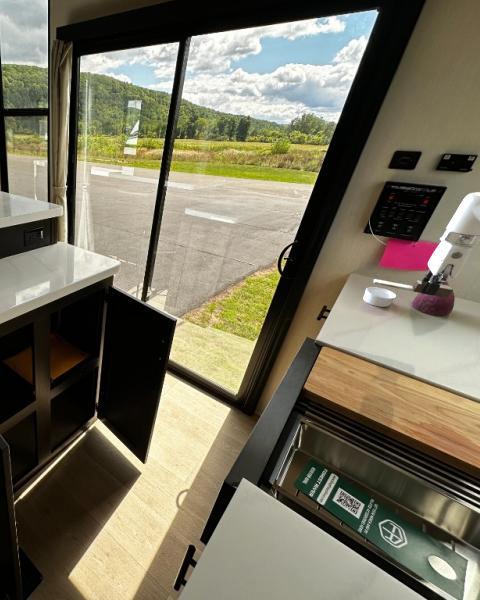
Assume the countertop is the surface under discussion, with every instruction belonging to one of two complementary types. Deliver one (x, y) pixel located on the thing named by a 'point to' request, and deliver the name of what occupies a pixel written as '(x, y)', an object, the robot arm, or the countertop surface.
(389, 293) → the ramekin
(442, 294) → the knife
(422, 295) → the vegetable
